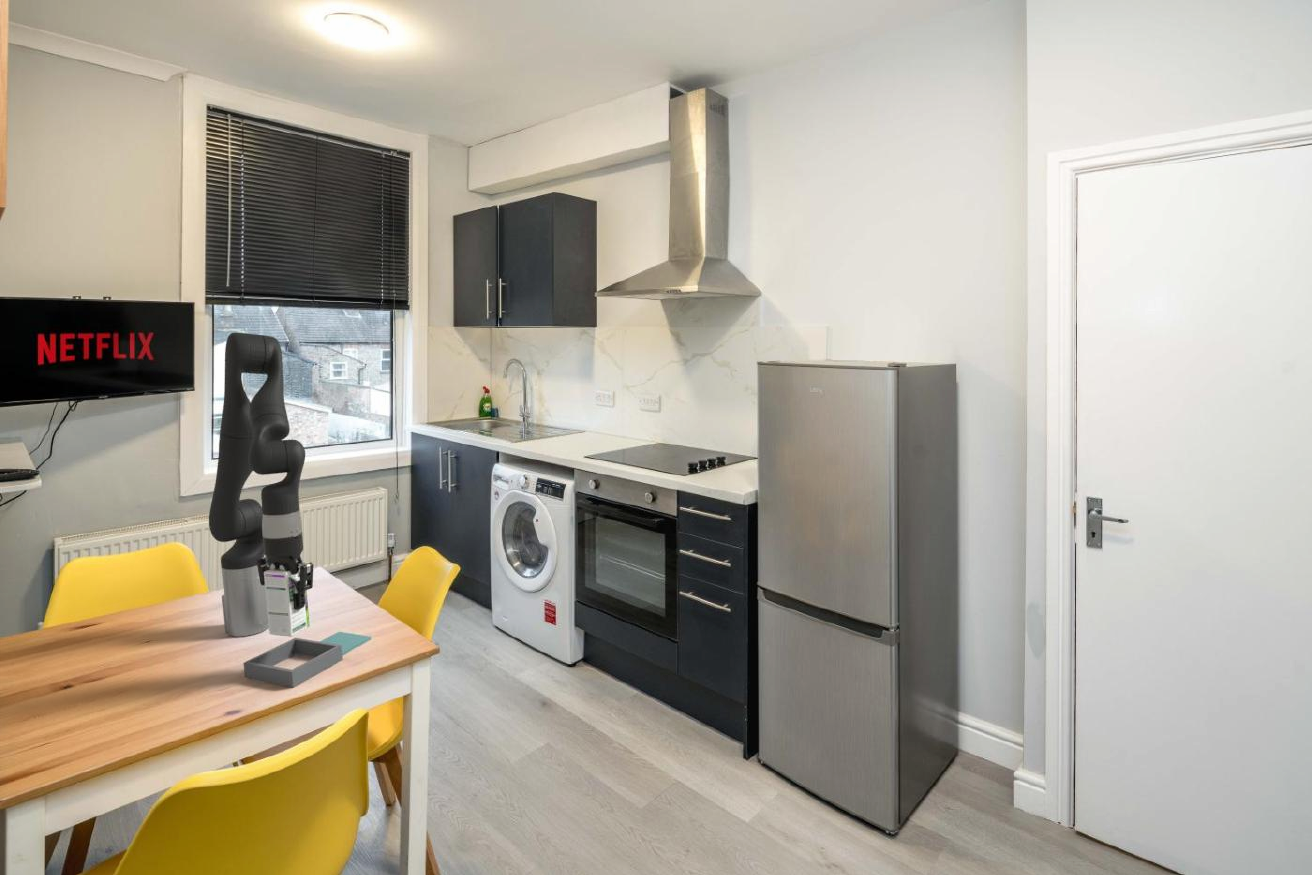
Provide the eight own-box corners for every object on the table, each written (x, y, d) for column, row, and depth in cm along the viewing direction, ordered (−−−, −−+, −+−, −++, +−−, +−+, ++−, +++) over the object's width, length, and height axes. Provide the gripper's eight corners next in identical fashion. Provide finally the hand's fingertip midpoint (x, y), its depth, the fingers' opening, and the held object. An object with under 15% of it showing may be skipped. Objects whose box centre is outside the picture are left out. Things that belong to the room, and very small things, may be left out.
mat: (306, 650, 161) (306, 648, 161) (339, 633, 170) (338, 631, 170) (340, 656, 158) (340, 654, 158) (371, 639, 167) (371, 636, 167)
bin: (244, 678, 148) (243, 662, 147) (296, 651, 160) (295, 637, 160) (293, 687, 143) (292, 671, 143) (342, 659, 156) (341, 645, 155)
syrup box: (291, 637, 147) (287, 572, 145) (268, 634, 148) (263, 570, 146) (310, 626, 153) (306, 564, 151) (287, 624, 154) (282, 562, 152)
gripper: (242, 533, 146) (248, 608, 149) (293, 540, 142) (298, 617, 144) (272, 524, 153) (277, 596, 156) (322, 530, 149) (326, 604, 151)
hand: (287, 606), depth 150 cm, fingers closed on syrup box, 6 cm apart
